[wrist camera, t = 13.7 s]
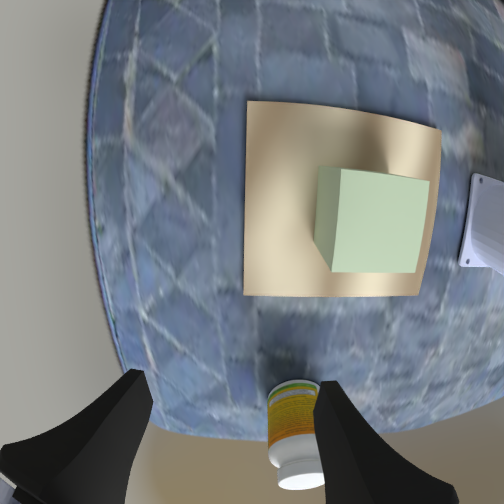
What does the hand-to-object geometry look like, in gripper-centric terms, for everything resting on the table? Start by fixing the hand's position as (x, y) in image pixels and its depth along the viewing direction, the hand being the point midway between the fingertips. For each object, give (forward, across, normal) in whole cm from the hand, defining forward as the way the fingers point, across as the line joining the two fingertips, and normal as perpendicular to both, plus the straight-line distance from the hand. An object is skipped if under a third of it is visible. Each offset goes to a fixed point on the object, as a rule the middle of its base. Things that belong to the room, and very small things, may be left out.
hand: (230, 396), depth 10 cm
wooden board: (+10, -7, -6) cm, 14 cm away
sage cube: (+10, -7, -6) cm, 14 cm away
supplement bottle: (+11, -5, +12) cm, 17 cm away
